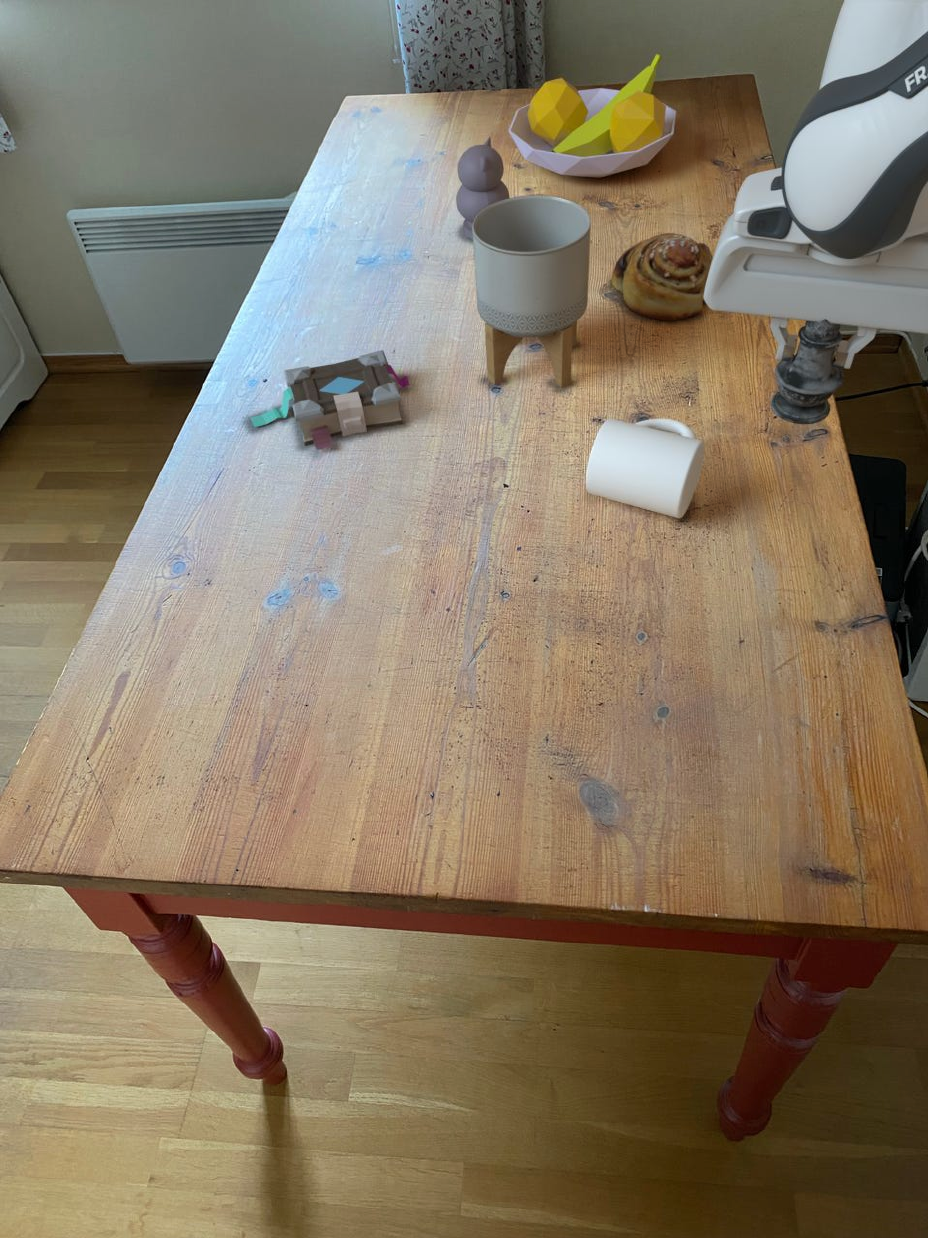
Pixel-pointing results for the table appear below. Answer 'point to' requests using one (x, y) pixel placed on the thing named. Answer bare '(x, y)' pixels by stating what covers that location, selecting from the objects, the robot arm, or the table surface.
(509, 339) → the planter
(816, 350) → the chess piece
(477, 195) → the grey bird figurine
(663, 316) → the pastry
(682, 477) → the mug
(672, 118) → the fruit bowl
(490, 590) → the table surface
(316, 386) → the book
